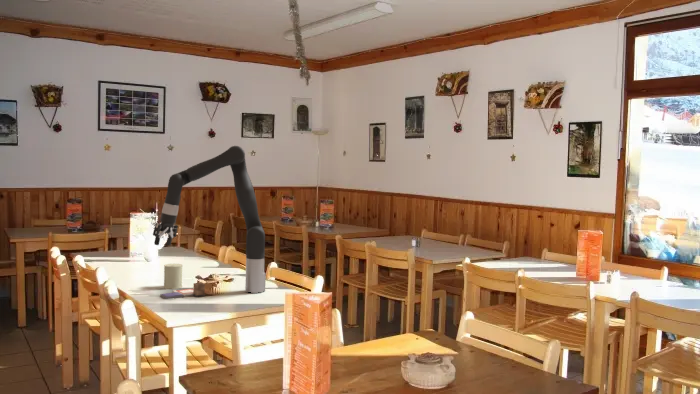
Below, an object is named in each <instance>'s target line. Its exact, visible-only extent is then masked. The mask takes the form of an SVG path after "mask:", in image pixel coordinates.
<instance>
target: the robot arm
mask: <svg viewBox="0 0 700 394" xmlns="http://www.w3.org/2000/svg"><path fill="white" fill-rule="evenodd" d="M228 166H230V168H231V172H232V176H233V184H234V193H235V195H236V200H237V202H238V206H239V208H240V212H241V214H242V216H243V218H244V222H245V228H246V239H245V240H246V243H245V287H244V288H245V290H244V291H245V293H248V292H251V293H250V294H259V293H258V292H261V293H263V292H262V291H264V292H266V279H267V278H266V275H267V274H266V272H265V255H266V254H265V253H266V251H265V249H266V248H265V247H266V245H265V244H266V232H265V230H264V228H263V225H262V223H261V219H260V215H259V211H258V210H259V209H258V203H257V202H258V201H257V198H256V193H255V190H254V186H253V183H252V180H251V178H250V175H249V172H248V170H247V163H246V153H245V150H244V149H243V148H242V147H241V146H238V145H234V146H233V145H232V146H230V147H229V148H228V149H227V150H225V151H223V152H222V153H220V154H219V155H217V156H214V157H212V158H209V159H207V160H205V161H201V162H199V163H196V164H195V165H194V164H193V165H192V166H190V167H188V168H187V169H184V170H182V171H179V172H177V173H173V174H172V175H171V176H169V179H168V183H167V190H166V191H167V192H166V195H165V198H164V199H165V200H164V203H163V205H162V209H161V213H160V218H159V219H160V220H159V221H160V224H159V223H155V226H154V230H153V233H152V236H154V245H156V246H159V245H160V241H161V237H162V236H164V234H167V239H166V246H171V245H172V241H173V238H176V237H177V233H178V225H176V223H177V217H178V213H179V209H180V207H179V206H180V202H181V194H182V190H183V187H184V186H186V185H188V184H189V183H191V182H195V181H198V180H200V179H202V178H204V177H207V176H208V175H211V174H212V173H214V172H217V171H218V170H220V169H222V168H225V167H228Z"/></svg>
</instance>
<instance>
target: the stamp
mask: <svg viewBox="0 0 700 394" xmlns="http://www.w3.org/2000/svg"><path fill="white" fill-rule="evenodd" d="M205 285H206V284H205V283H204V282H195V283H193V288H192V289H193V294H192V296H193V297H195V298H202V297H205V296H206V293H205V289H206V287H205Z"/></svg>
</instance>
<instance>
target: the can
mask: <svg viewBox="0 0 700 394" xmlns="http://www.w3.org/2000/svg"><path fill="white" fill-rule="evenodd" d="M163 268H164V269H163V270H164V271H163V272H164V273H163V277H164V278H163V288H164V289H165V290H166V289H168V290H178V289H181V288H183V264H181V263H167V264H164V267H163Z"/></svg>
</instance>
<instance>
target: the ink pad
mask: <svg viewBox="0 0 700 394" xmlns="http://www.w3.org/2000/svg"><path fill="white" fill-rule="evenodd" d="M159 297H161V298H163V299H164V300H171V299H172V300H173V299H179V298H185V295H183V294H181V293H178V292H167V293H161V294H160V295H159Z"/></svg>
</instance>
